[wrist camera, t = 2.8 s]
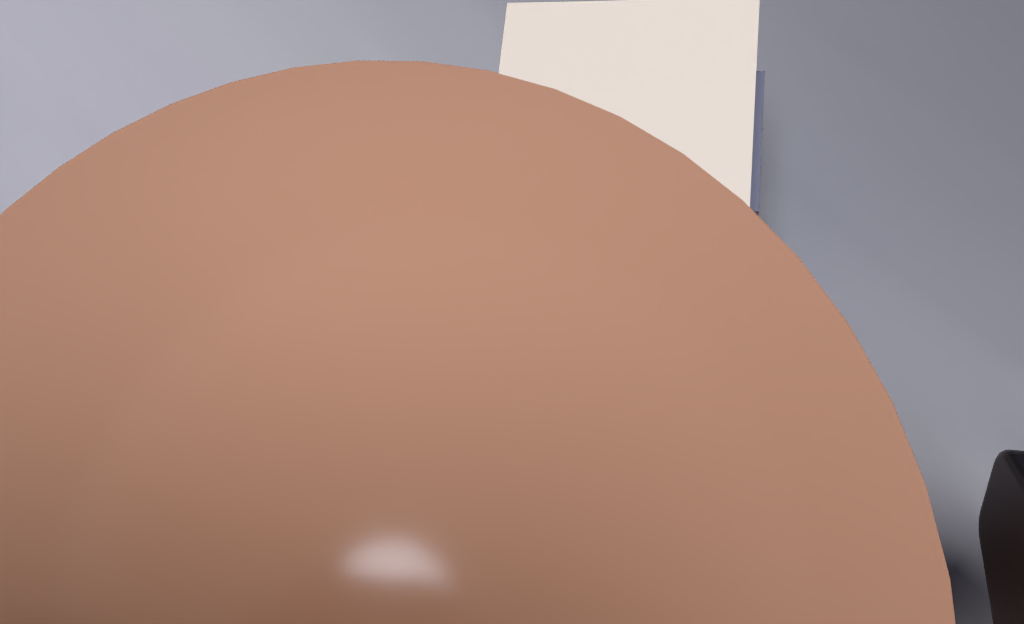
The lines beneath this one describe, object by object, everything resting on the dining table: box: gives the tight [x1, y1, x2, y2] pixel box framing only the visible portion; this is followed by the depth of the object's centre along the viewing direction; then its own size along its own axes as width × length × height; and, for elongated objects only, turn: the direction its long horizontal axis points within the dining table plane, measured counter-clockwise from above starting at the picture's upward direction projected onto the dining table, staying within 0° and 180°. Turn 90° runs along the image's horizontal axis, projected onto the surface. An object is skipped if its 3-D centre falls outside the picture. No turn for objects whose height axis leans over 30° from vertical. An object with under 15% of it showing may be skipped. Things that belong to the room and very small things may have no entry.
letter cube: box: [499, 0, 765, 215], centre depth 15 cm, size 4×4×4 cm
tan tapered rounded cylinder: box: [0, 61, 956, 624], centre depth 10 cm, size 5×5×12 cm
